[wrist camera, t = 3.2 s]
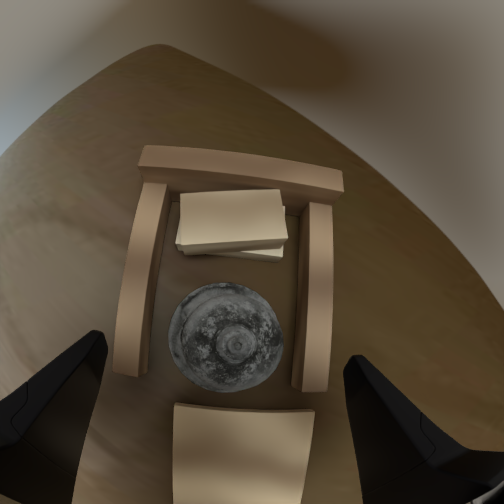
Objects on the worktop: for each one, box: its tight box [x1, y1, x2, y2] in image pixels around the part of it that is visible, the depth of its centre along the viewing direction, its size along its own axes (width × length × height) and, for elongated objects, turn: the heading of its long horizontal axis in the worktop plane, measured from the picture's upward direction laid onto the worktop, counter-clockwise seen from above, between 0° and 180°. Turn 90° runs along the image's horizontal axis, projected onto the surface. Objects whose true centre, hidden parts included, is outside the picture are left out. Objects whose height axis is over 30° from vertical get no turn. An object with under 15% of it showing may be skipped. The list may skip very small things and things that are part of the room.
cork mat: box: [173, 402, 315, 504], centre depth 14 cm, size 9×9×1 cm
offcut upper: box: [180, 189, 288, 255], centre depth 17 cm, size 3×6×2 cm, turn 96°
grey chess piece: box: [168, 283, 284, 393], centre depth 11 cm, size 6×6×12 cm
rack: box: [112, 145, 344, 392], centre depth 16 cm, size 14×13×4 cm
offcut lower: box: [175, 206, 285, 263], centre depth 19 cm, size 4×7×2 cm, turn 85°
